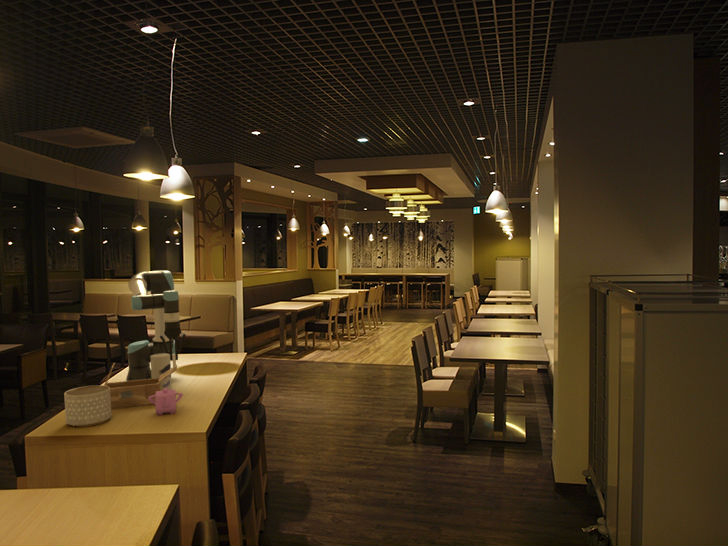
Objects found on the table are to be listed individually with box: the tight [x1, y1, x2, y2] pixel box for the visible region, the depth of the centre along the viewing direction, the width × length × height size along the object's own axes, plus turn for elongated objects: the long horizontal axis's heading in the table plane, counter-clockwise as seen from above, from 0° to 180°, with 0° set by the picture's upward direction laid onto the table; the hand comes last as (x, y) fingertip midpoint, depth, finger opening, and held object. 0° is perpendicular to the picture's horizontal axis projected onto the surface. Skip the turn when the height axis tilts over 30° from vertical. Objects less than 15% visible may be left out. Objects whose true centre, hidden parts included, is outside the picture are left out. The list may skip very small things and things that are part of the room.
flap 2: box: [159, 364, 178, 382], centre depth 295 cm, size 12×1×10 cm
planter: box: [63, 384, 112, 427], centre depth 261 cm, size 19×19×14 cm
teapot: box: [148, 388, 184, 416], centre depth 272 cm, size 15×13×11 cm
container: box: [150, 353, 173, 391], centre depth 312 cm, size 10×10×20 cm
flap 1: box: [103, 362, 116, 386], centre depth 287 cm, size 12×1×10 cm, turn 18°
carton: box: [105, 378, 161, 410], centre depth 290 cm, size 16×26×10 cm, turn 108°
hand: (174, 366), depth 296 cm, fingers closed
